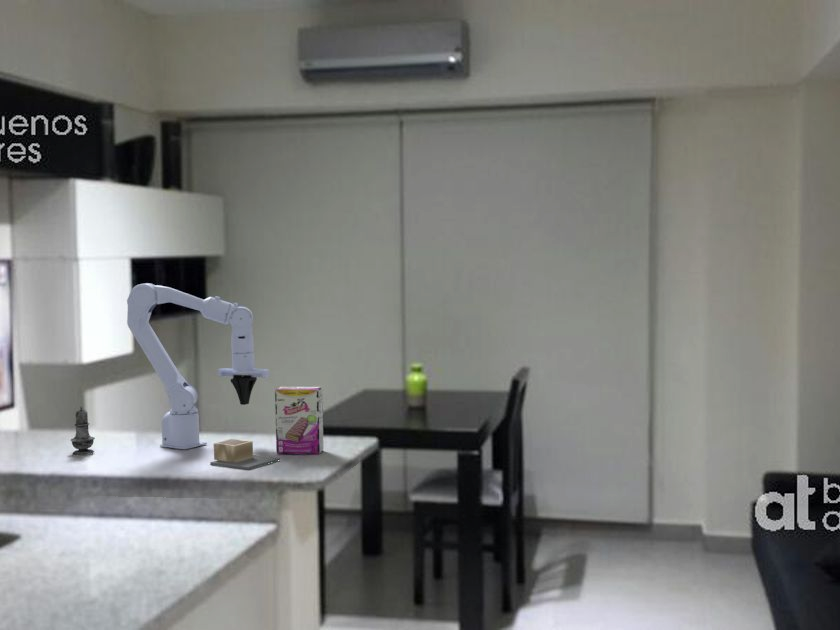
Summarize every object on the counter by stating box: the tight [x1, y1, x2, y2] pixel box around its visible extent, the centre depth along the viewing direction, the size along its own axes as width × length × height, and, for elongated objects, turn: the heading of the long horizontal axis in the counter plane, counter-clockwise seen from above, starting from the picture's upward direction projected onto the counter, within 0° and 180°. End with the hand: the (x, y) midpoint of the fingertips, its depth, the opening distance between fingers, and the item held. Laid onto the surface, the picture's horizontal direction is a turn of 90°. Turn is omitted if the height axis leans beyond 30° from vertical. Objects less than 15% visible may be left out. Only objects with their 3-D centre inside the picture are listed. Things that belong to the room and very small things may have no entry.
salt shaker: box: [70, 406, 96, 456], centre depth 242 cm, size 6×6×12 cm
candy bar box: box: [274, 386, 324, 455], centre depth 235 cm, size 11×5×16 cm, turn 84°
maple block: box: [213, 438, 254, 463], centre depth 227 cm, size 4×6×7 cm
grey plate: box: [209, 454, 281, 471], centre depth 225 cm, size 12×11×1 cm
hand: (244, 404), depth 249 cm, fingers closed
